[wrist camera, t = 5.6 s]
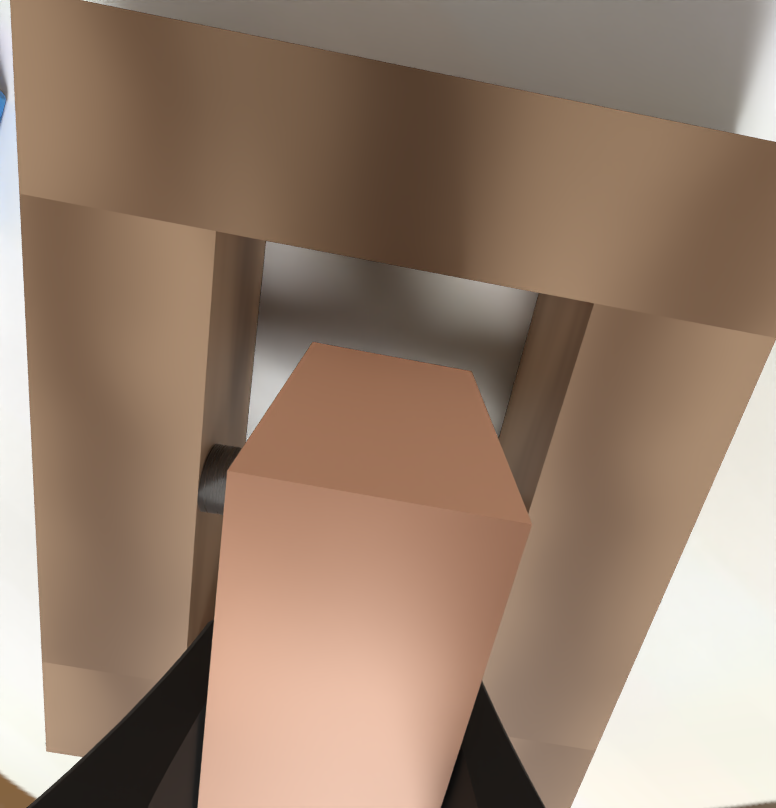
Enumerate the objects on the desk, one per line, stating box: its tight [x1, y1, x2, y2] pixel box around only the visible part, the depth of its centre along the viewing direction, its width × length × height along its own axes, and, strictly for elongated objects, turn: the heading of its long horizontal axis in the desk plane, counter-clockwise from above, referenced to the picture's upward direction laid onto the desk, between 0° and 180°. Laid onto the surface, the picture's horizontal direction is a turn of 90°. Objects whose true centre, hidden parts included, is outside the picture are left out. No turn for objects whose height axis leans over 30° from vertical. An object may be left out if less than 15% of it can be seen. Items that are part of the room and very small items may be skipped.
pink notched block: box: [198, 342, 532, 808], centre depth 11 cm, size 4×10×6 cm, turn 170°
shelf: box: [10, 0, 776, 808], centre depth 17 cm, size 18×22×5 cm
